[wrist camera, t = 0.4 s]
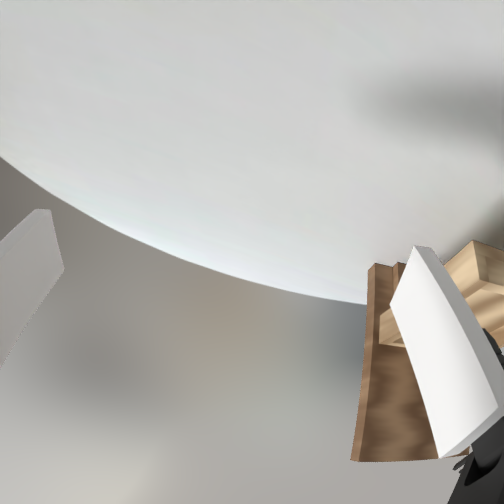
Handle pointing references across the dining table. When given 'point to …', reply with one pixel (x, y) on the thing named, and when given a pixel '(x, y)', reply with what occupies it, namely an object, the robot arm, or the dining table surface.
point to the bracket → (398, 362)
